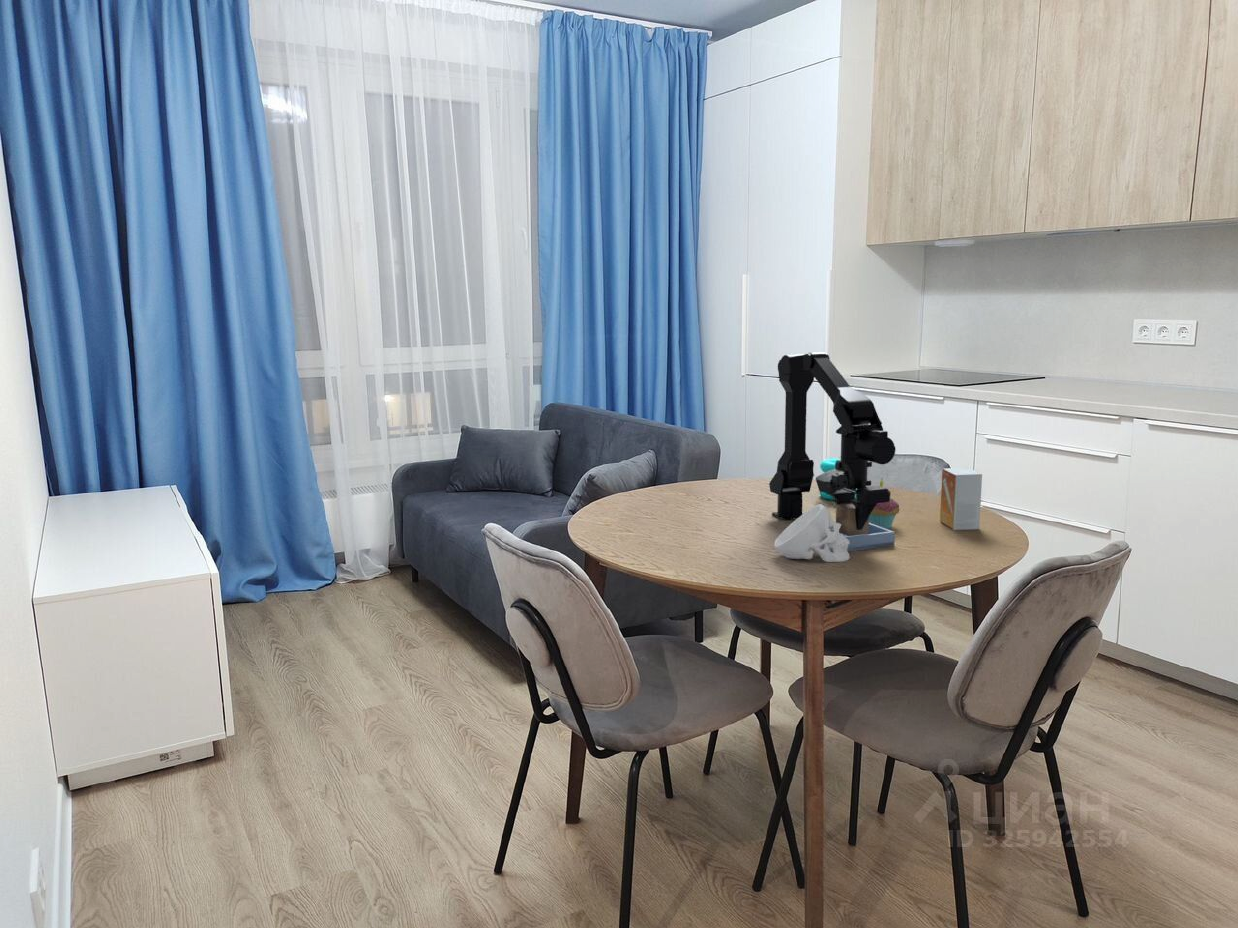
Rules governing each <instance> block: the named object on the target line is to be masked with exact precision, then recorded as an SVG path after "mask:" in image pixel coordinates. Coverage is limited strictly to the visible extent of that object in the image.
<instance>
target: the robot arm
mask: <svg viewBox="0 0 1238 928" xmlns="http://www.w3.org/2000/svg"><path fill="white" fill-rule="evenodd" d="M777 371H778V381H779V383H780V385H781V386H782V388H783V390H784V391H785V409H784V410H785V411H784V412H785V413H784V415H785V417H784V418H785V419H784V451H783V453H782V455H781V456H780V457H779V460H778V461H777V467H776V472H775V473H774V476H773V477H772V478H771V480H769V484H768V485H769V491H770V492H771V493H773V494H776V495H777V511H776V512H773V511H772V512H771V515H772V516H775V517H776V518H778V519H782V520H784V521H790V520H796V519H797V518H799V517H800V516H801V515H803V514H804V513H803V493H810V492H811V488H812V484H813V479H814V477H815V473H814V466H815V462H814V460H813V459H810V457H809V455H808V454H807V451H806V447H807V446H806V445H807V444H806V443H807V441H806V440H807V438H806V437H807V405H808V403H807V397H808V395H807V394H808V391H809V389H810V388H811V386H812V384H814V380H816V381H817V383H818V384H819V385H820V387H821V388H822V389H823V391H824V392H825V393H826V395H827V396H828V398H829V399H830V400H831V401H832V403H833V407H832V412H833V414H834V416H835V418H836V420H837V422H838V423H839V424H840V426H839V428H837V429H836V430H835V433H836V434H838V435H840V459H841V460H837V461H836V463H835V469H832V470H829V471H827V472H825V473H824V472H823V473H821V474H820V475H818V476H816V477H815V481H816V484H817V487H818V491H819V493H820V492H824V493H826V494H828V495H830V496H831V497H833V498H834V499H835V500H834V501H835V504H844V503H852V504H853V505H854V506H855V513H856V527H857V530H861V529H862V528H863V526H864V525H865V523H866V521H867V519H868V517H869V515H870V514H871V512H872V510H873V509H874V507H875V506H876V504H877V503H883V502H890V499H891V491H890V490H889V488H887V487H884V486H883V487H880V485H872V480H870V479H868V468H870V467H873V463H875V464H878V465H888V464H889V463H890V462H891V461H892V460H893V458H895V457H894V456H895V454H896V451H897V450H896V446H895V442H894V441H893V440H892V438H890V437H888V435H889V433H888V431H886V430H884V428H883V423H882V420H881V419H880V417H879V415H878V411H877V410H876V407H875V405H874V402H873V400H871V399H870V398H869V397H868V396H867V395H865V393H862V392H861V391H858V390H856V389H854V388H853V387H852V386H851V385H850V384H849V383H848V381H847V380H846V379H845V377H844V376H843V375H842V374H841V373H840V371H839V370H838V369H837V368H836V366H835V365H834V364H833V363H832V361H831V360H830V355H829V354H828V353H827V352H824V351H814V352H813V351H812V352H808V353H802V354H800V353H799V354H786V355H783V356H782V357H781V359H779V360H778V363H777ZM855 494H856V498H855Z"/></svg>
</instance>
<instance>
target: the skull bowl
mask: <svg viewBox="0 0 1238 928" xmlns="http://www.w3.org/2000/svg"><path fill="white" fill-rule="evenodd" d="M802 514H803V515H801V516H800V517H799V518H797V519H794V521H792V523H790V524H789V525H788V526H787V527H786V528H785V529H784V530H783V531H782V532H781V533H779V535H778V536H777V537H776V539H775V540H774V543H773V545H774V548H775V549H776V550H777V552H778V553H780V554H781V555H782V556H784V557H785V558H787V559H791V560H792V559H794V560H801V559H806V560H811V559H813V555H814V554H815V555H817V556H819V557H820V558H821V560H823V562H825V563H842V562H846V561H848V560H849V559H850V558H851V557H850V554H849V552H847V548H848V545H849V544H850V542H849V540H848V539H847V538H845V537H844V536H843V534H842V533H839V529H840V526H841V524H840V523H836V521H835V520H834V519H833V518H832V515H831V514H830V511H828V509H827V508H826V506H824V505H823V504H822V503H820V504H819V503H818V504H816V505H815V506H813V507H811V508H810V509H809V510H807V511H806V512H804V513H802Z"/></svg>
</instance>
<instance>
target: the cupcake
mask: <svg viewBox="0 0 1238 928" xmlns="http://www.w3.org/2000/svg"><path fill="white" fill-rule="evenodd" d="M879 486H880V487H883V488H884V481H883V478H881V480H880V482H879ZM899 513H900V504H899V503H898V502H897V501H896V500H894V499H893V498H890V502H883V503H877V504H876V506H875V507H874V509H873V510H872V512H871V514H870V515H869V523H872V524H875V525H877V526H880V527H883V528H885V529H890V528H891V527H892V525H893V522H894V519H895V517H896V516H897V515H898V514H899Z"/></svg>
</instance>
